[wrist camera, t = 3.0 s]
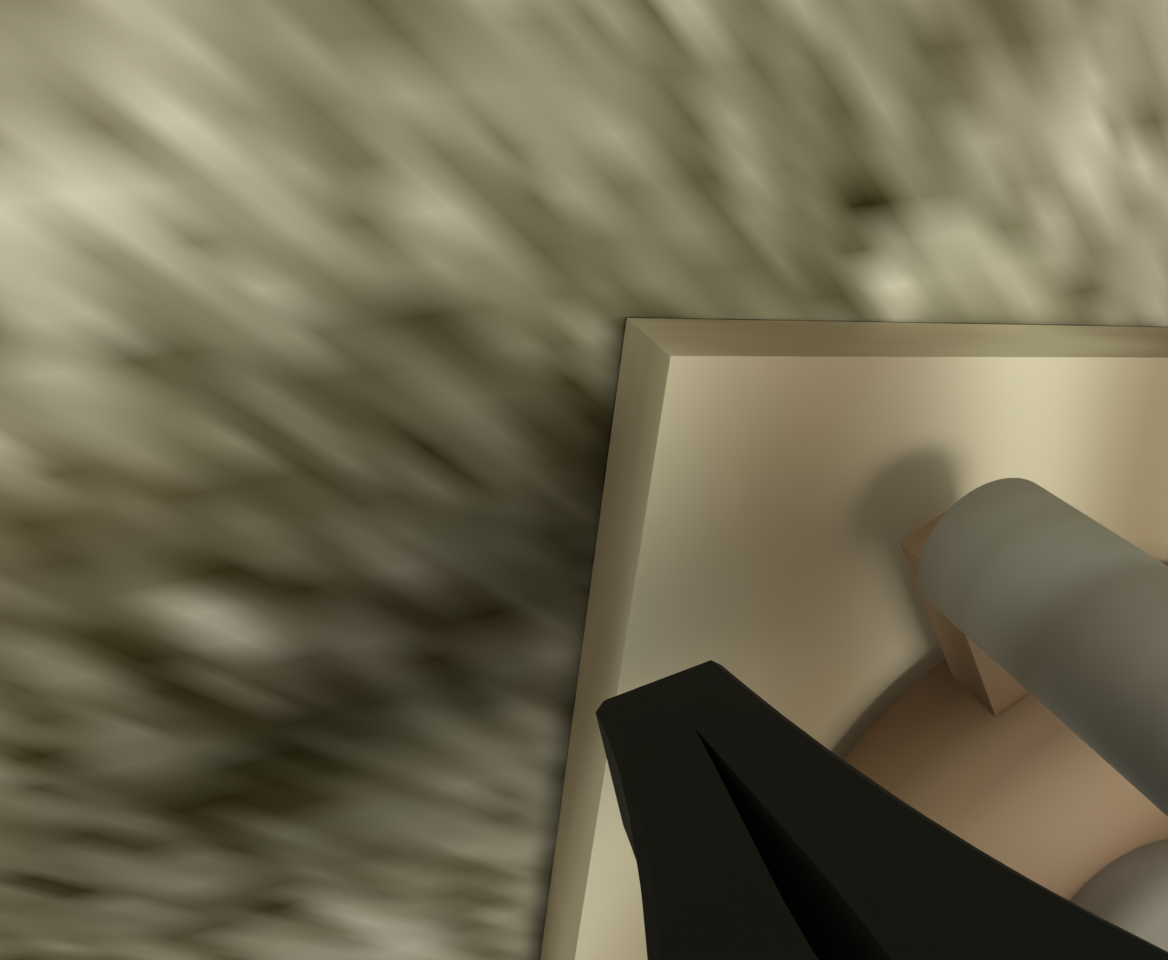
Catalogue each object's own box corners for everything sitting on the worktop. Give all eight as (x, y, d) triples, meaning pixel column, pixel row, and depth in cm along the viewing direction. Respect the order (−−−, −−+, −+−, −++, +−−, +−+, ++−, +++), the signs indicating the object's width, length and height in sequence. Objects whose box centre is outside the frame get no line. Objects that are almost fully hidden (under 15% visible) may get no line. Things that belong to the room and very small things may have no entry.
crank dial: (1291, 806, 21) (1574, 1027, 16) (879, 1081, 20) (1051, 1379, 16) (1250, 227, 12) (1797, 357, 8) (563, 678, 12) (739, 1061, 8)
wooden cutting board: (517, 1126, 20) (537, 1209, 19) (626, 317, 12) (674, 360, 11) (1115, 961, 25) (1164, 1016, 24) (1455, 332, 18) (1556, 360, 16)
